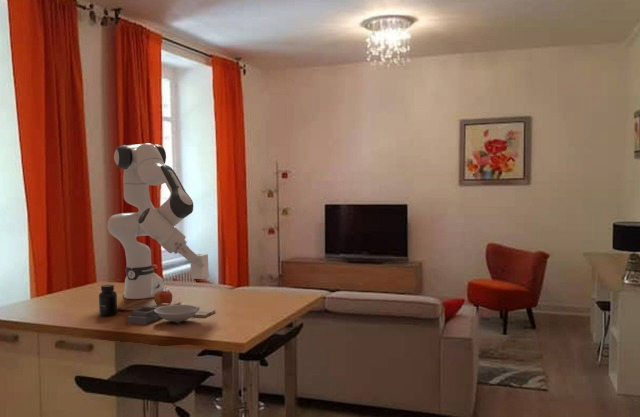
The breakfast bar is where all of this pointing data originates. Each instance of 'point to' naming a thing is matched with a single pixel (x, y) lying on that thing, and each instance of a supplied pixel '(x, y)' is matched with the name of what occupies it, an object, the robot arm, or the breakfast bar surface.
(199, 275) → the block
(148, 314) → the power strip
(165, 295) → the apple
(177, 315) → the dish
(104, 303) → the supplement bottle
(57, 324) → the breakfast bar surface
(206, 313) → the cork pad
